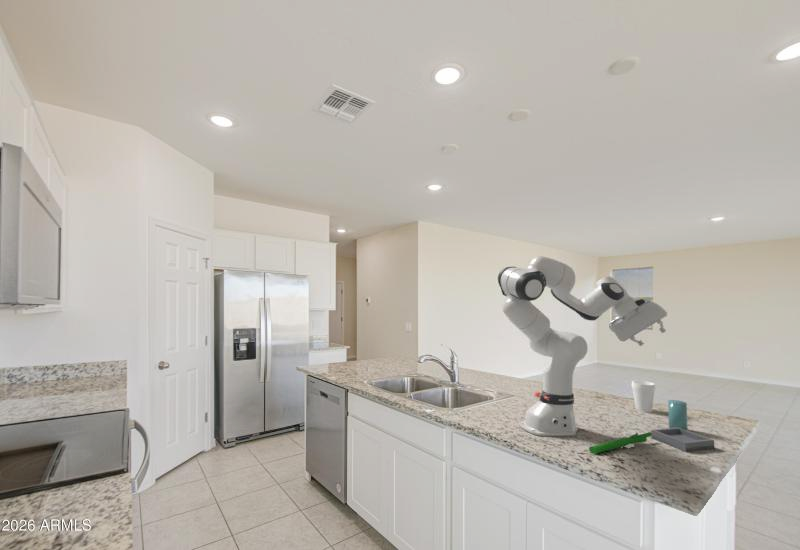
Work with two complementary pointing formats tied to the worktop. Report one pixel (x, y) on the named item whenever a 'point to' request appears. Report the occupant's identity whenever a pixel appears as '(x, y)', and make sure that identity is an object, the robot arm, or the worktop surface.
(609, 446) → the green onion
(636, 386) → the foam cup
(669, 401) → the teal cylinder
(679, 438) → the tray
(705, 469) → the worktop surface
